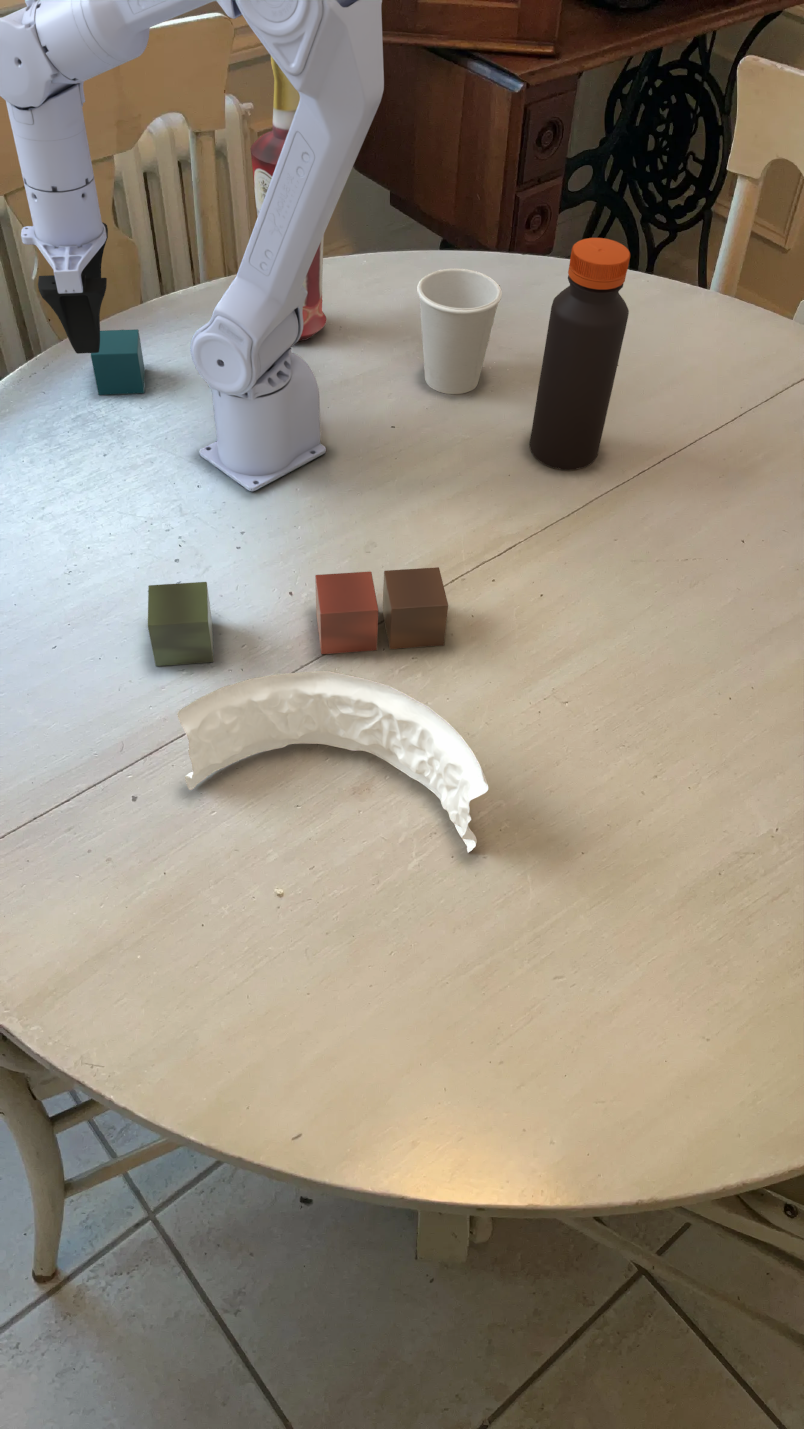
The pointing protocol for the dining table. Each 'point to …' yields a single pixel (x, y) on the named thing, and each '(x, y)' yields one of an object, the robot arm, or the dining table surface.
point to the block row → (340, 612)
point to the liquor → (263, 166)
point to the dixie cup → (456, 326)
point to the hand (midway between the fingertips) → (88, 328)
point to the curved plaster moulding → (335, 731)
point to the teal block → (119, 363)
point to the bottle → (581, 356)
